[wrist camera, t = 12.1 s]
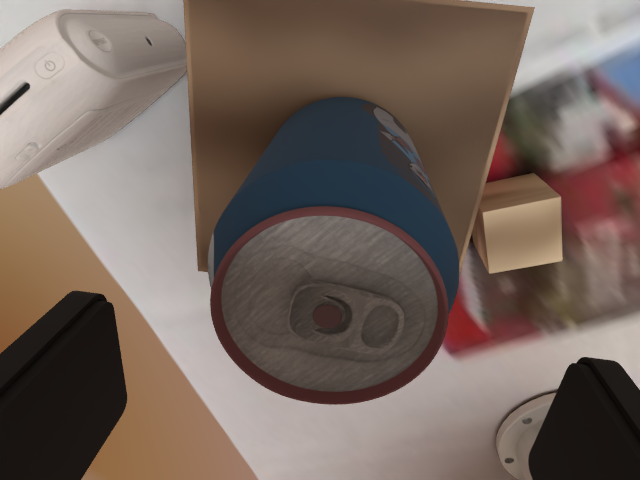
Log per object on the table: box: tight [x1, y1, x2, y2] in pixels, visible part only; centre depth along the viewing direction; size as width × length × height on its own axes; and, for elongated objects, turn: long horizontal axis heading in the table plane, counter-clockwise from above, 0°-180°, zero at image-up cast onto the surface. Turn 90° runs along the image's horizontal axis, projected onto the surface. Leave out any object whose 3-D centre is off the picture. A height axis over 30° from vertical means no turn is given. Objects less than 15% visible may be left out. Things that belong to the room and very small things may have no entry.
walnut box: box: [184, 0, 535, 276], centre depth 25 cm, size 14×14×9 cm
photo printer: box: [0, 10, 187, 189], centre depth 23 cm, size 10×4×12 cm, turn 125°
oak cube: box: [472, 173, 562, 274], centre depth 29 cm, size 4×4×4 cm
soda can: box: [208, 97, 459, 404], centre depth 16 cm, size 7×7×12 cm
